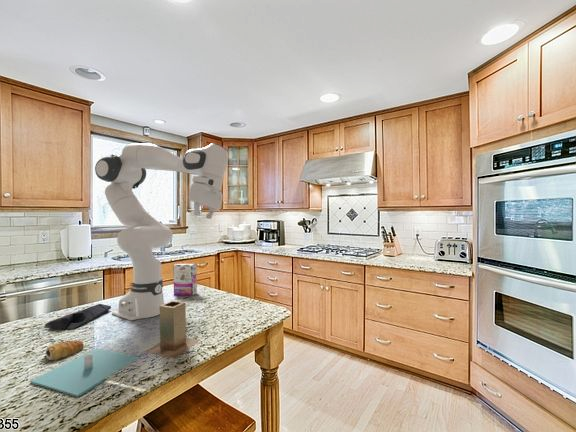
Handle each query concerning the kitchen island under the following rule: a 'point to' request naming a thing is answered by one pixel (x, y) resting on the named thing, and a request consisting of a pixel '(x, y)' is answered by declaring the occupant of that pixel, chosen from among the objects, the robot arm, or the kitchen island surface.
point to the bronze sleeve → (172, 325)
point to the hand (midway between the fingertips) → (202, 217)
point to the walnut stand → (172, 354)
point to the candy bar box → (185, 279)
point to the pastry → (63, 349)
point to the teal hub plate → (84, 372)
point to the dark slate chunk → (78, 318)
